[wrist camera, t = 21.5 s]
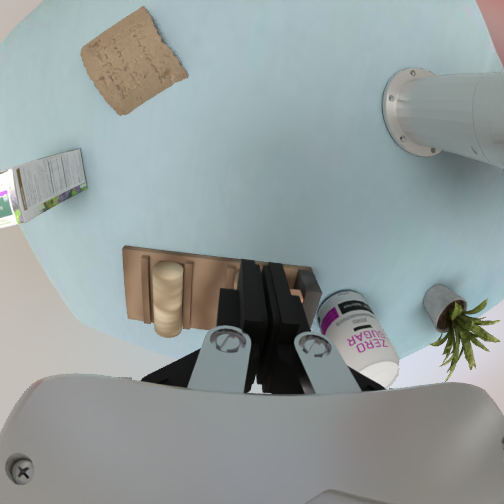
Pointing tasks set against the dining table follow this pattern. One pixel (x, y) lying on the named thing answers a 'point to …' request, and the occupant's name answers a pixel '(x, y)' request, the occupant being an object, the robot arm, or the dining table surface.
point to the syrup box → (39, 186)
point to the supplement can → (359, 337)
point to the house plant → (456, 324)
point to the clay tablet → (131, 63)
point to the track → (200, 284)
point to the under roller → (167, 298)
